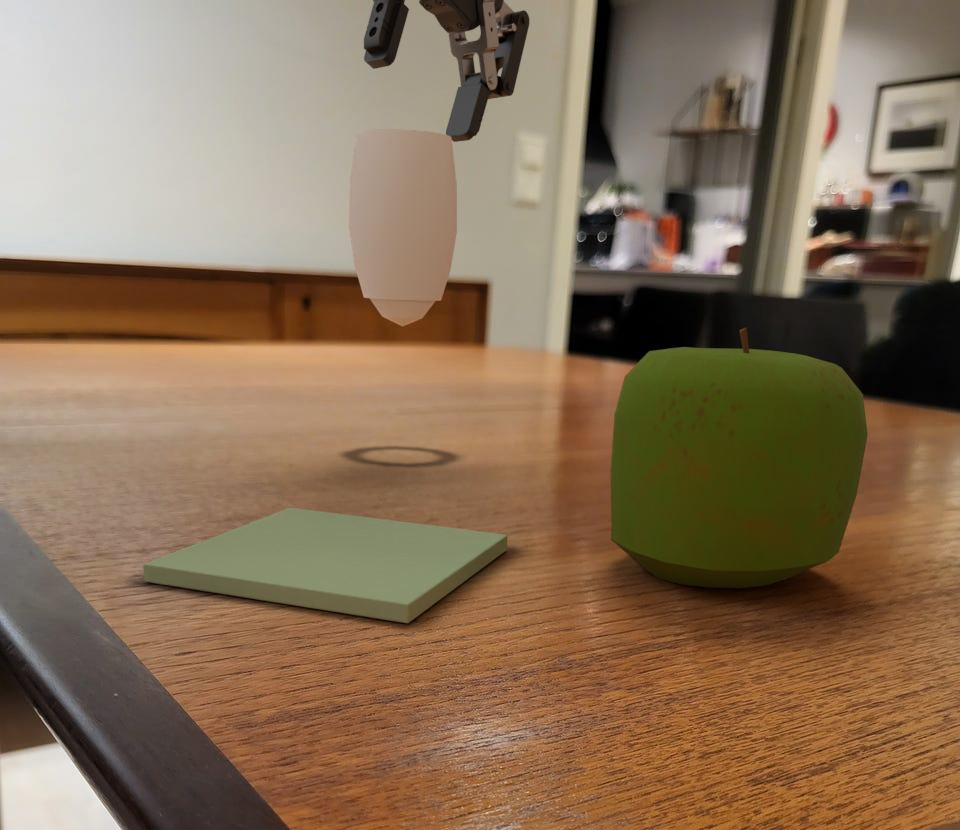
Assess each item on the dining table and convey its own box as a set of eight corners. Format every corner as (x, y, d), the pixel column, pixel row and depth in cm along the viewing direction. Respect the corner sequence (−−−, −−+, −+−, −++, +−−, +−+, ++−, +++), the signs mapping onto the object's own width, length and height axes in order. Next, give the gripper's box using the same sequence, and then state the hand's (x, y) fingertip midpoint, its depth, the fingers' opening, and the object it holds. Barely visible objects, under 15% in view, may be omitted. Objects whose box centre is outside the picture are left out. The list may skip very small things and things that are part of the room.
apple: (810, 627, 39) (857, 340, 36) (562, 579, 44) (580, 322, 40) (860, 565, 49) (901, 331, 45) (649, 531, 53) (671, 317, 50)
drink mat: (143, 582, 42) (142, 563, 41) (289, 522, 52) (289, 507, 52) (408, 624, 38) (408, 604, 38) (507, 550, 49) (508, 534, 48)
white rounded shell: (355, 465, 68) (353, 124, 61) (346, 447, 74) (343, 138, 67) (459, 465, 69) (470, 132, 62) (442, 447, 76) (449, 145, 69)
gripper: (501, -43, 75) (444, 164, 75) (374, -200, 64) (306, 44, 64) (584, -65, 71) (522, 156, 71) (462, -238, 59) (389, 25, 59)
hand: (420, 102), depth 67 cm, fingers open, 8 cm apart
